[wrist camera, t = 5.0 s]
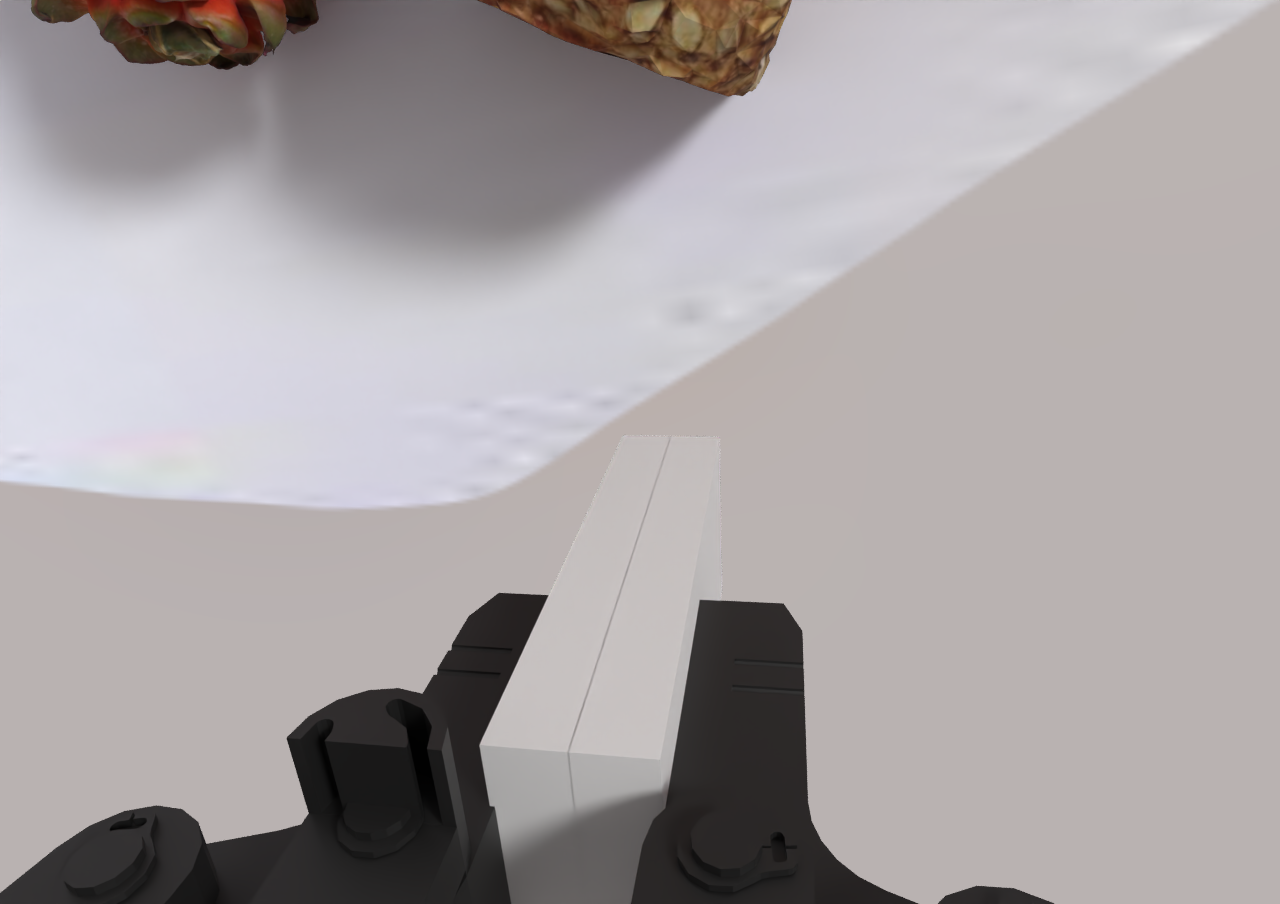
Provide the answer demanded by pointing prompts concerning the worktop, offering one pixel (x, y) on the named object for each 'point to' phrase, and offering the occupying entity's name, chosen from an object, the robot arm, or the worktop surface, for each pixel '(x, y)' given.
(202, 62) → the dragon fruit
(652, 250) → the worktop surface
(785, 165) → the worktop surface
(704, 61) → the bread
